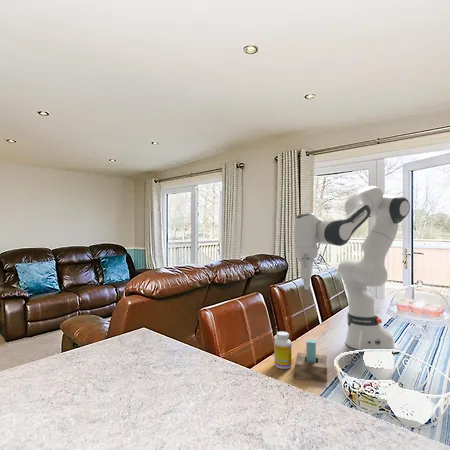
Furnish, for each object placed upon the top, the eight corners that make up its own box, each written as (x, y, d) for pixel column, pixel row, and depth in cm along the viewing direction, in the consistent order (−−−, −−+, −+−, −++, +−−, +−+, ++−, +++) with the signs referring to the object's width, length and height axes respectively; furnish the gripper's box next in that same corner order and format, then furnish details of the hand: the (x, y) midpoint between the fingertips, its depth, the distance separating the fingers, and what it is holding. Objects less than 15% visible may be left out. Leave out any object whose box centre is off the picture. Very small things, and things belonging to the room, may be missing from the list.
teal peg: (315, 371, 119) (315, 340, 119) (315, 375, 116) (315, 343, 116) (307, 370, 120) (306, 339, 120) (306, 374, 117) (306, 342, 117)
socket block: (326, 368, 122) (326, 355, 122) (327, 382, 111) (326, 367, 111) (297, 365, 125) (297, 352, 125) (295, 377, 115) (295, 363, 115)
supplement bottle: (291, 370, 120) (291, 336, 120) (274, 369, 122) (273, 335, 122) (291, 363, 127) (291, 331, 127) (274, 361, 128) (274, 330, 128)
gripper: (313, 255, 118) (314, 292, 118) (314, 250, 137) (315, 282, 137) (296, 255, 119) (297, 292, 120) (299, 250, 139) (300, 281, 139)
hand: (307, 286), depth 129 cm, fingers open, 8 cm apart
